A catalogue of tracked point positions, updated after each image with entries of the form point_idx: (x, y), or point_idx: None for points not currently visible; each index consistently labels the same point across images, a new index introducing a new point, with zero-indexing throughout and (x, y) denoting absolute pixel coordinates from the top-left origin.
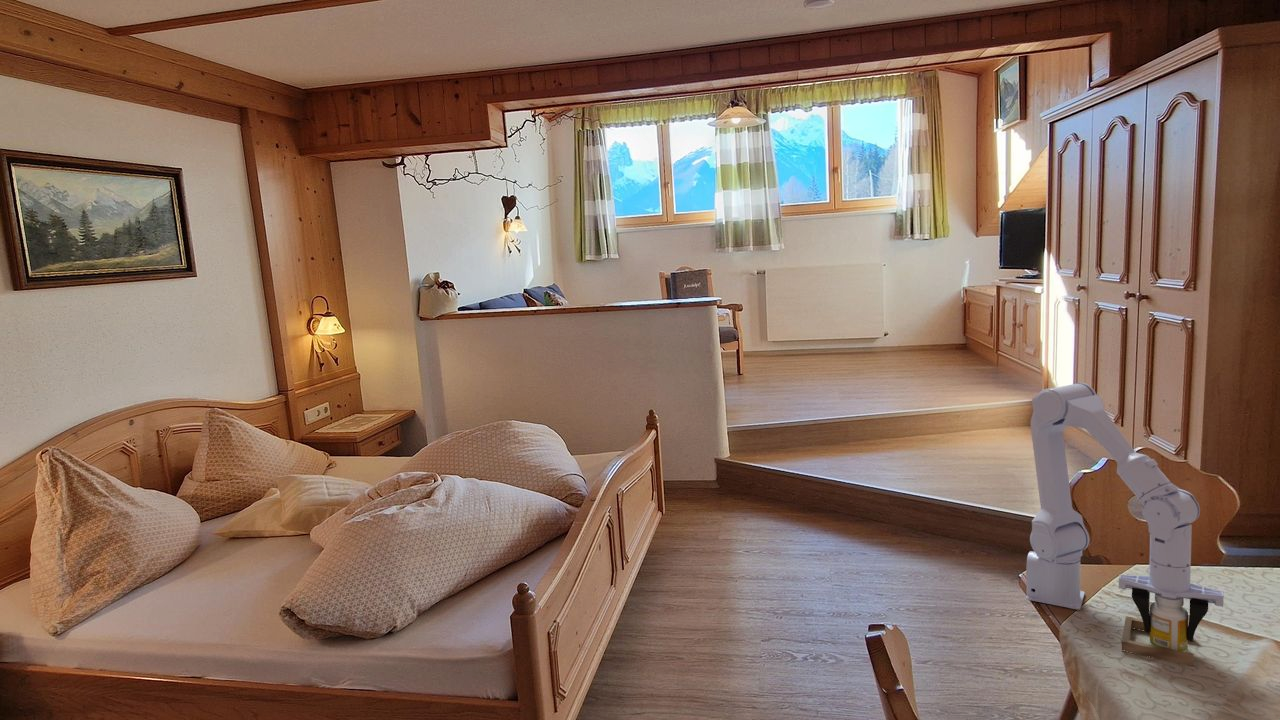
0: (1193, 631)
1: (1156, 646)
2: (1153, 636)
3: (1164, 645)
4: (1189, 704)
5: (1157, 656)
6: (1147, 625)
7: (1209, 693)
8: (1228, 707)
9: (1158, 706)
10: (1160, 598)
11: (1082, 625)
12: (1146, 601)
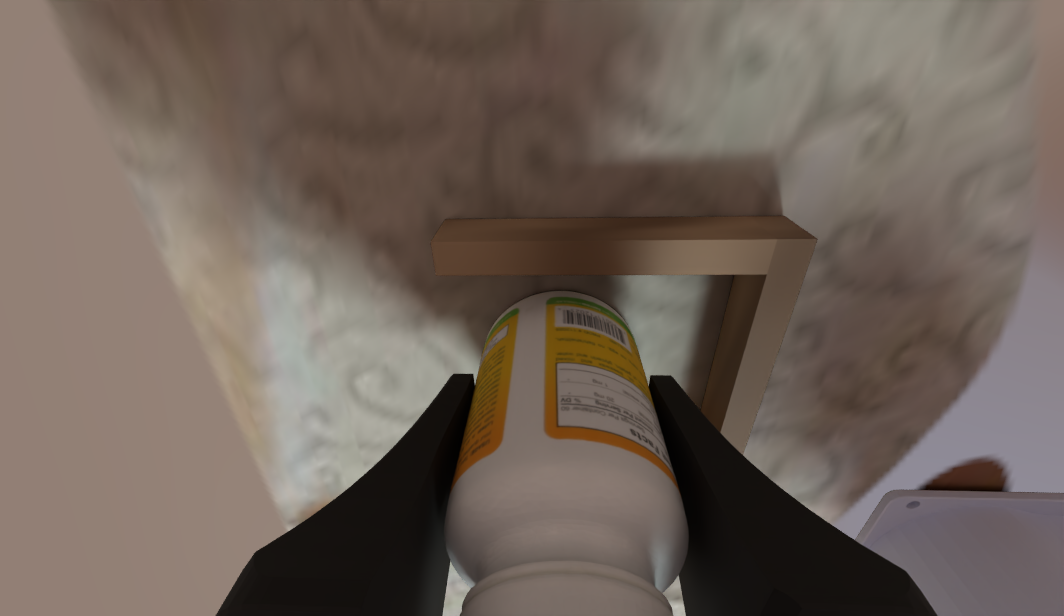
0: (428, 414)
1: (619, 267)
2: (632, 352)
3: (577, 310)
4: None
5: (608, 222)
6: (676, 401)
7: None
8: None
9: None
10: None
11: (917, 384)
12: (793, 586)
